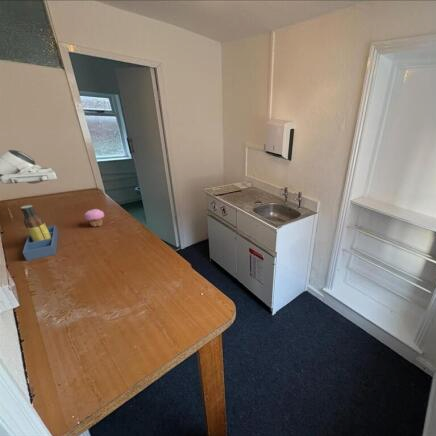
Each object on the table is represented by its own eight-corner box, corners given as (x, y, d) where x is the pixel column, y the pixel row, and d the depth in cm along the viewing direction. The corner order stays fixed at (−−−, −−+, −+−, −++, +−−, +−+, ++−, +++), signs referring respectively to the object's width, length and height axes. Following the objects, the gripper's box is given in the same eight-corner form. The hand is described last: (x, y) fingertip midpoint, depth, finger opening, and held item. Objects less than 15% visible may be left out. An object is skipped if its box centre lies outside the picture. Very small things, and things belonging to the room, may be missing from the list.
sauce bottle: (49, 239, 118) (34, 202, 110) (55, 242, 115) (40, 205, 107) (32, 245, 112) (14, 206, 104) (38, 248, 110) (20, 209, 102)
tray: (26, 260, 102) (22, 252, 100) (33, 237, 120) (30, 229, 118) (56, 254, 107) (52, 245, 106) (58, 232, 126) (55, 225, 124)
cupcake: (107, 221, 142) (102, 206, 138) (106, 226, 135) (101, 211, 131) (88, 224, 137) (83, 208, 133) (86, 230, 130) (81, 213, 126)
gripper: (0, 171, 120) (-6, 176, 110) (54, 167, 132) (53, 172, 123) (5, 183, 122) (0, 189, 113) (58, 178, 135) (57, 183, 125)
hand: (28, 180), depth 118 cm, fingers open, 8 cm apart
